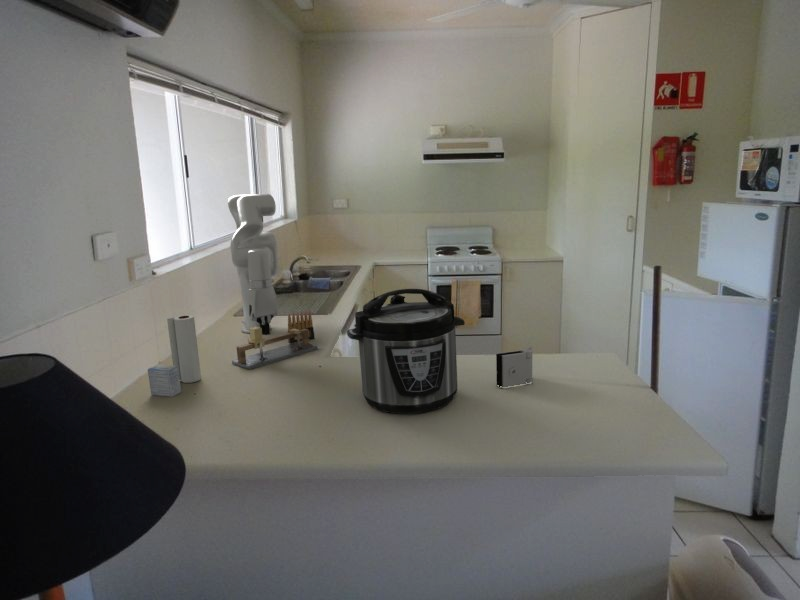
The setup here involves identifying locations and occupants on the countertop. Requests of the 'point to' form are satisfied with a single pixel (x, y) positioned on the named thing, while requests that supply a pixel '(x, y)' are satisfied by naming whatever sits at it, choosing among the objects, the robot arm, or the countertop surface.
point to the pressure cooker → (407, 352)
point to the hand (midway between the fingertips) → (265, 334)
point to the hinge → (514, 367)
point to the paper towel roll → (184, 347)
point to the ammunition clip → (300, 325)
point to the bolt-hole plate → (275, 355)
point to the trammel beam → (293, 333)
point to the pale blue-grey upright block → (164, 380)
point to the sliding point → (257, 339)
